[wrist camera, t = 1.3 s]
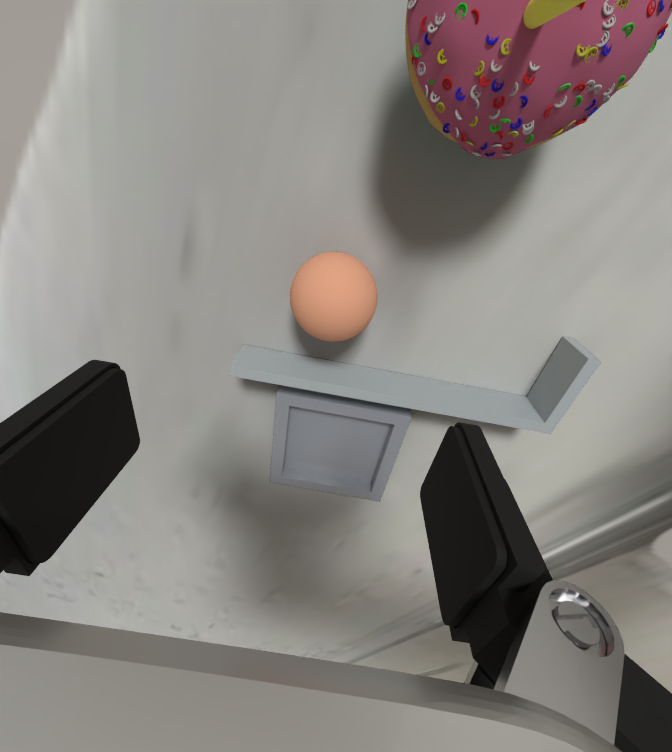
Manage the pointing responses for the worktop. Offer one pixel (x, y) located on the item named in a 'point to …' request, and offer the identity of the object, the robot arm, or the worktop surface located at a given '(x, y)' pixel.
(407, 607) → the worktop surface
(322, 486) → the dish
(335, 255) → the ball
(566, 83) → the cupcake
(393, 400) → the wall
